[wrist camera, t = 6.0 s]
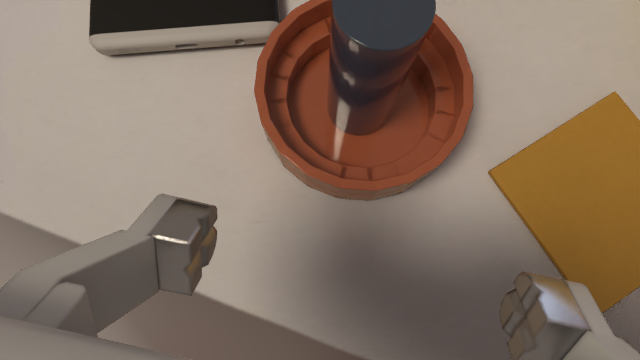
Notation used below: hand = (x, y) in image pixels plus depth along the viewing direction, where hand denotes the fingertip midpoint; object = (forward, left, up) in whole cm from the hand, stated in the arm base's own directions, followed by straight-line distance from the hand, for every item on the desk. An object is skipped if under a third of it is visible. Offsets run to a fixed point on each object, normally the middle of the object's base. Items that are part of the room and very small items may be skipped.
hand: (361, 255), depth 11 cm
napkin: (-6, -17, -15) cm, 24 cm away
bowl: (+8, -7, -15) cm, 19 cm away
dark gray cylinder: (+8, -7, -15) cm, 18 cm away
